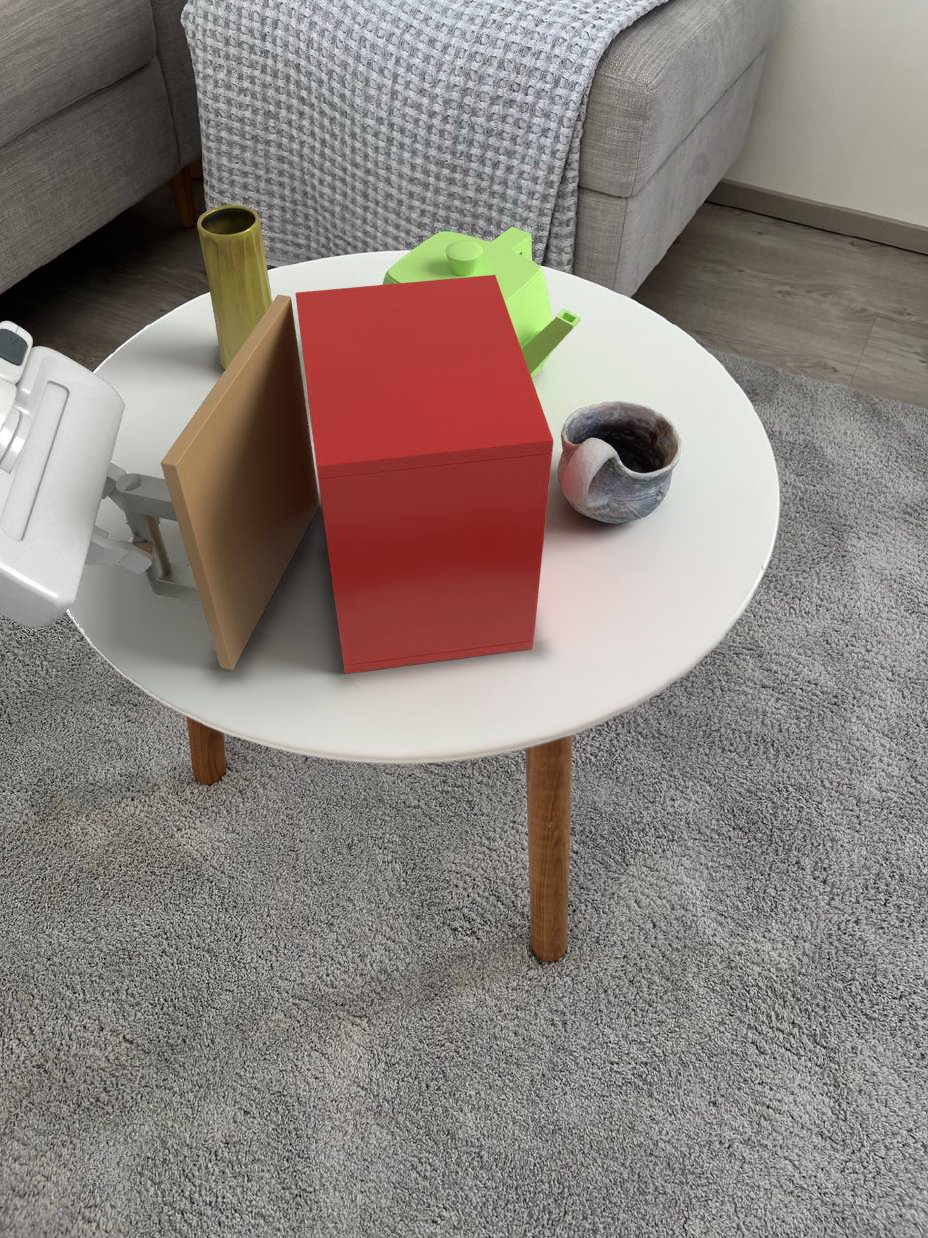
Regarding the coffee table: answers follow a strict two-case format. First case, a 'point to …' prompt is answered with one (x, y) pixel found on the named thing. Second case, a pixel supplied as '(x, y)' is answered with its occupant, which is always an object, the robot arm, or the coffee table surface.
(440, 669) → the coffee table surface
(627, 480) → the mug
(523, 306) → the teapot
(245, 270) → the vase
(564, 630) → the coffee table surface
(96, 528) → the robot arm
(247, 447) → the door
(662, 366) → the coffee table surface
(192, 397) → the coffee table surface
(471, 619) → the cabinet
